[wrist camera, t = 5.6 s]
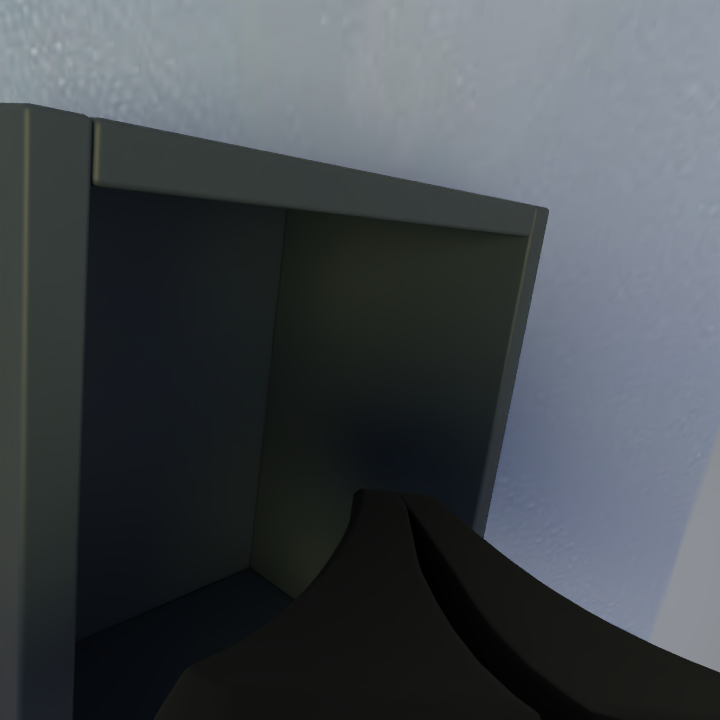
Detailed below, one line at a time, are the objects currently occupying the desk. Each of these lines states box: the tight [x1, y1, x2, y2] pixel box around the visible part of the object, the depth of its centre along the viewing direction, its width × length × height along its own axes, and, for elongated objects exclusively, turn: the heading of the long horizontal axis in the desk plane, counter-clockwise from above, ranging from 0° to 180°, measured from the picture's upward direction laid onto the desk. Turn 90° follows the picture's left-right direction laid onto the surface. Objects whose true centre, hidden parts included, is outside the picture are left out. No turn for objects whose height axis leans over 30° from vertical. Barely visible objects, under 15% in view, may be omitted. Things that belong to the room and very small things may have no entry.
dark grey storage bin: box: [0, 103, 549, 720], centre depth 13 cm, size 8×12×10 cm
